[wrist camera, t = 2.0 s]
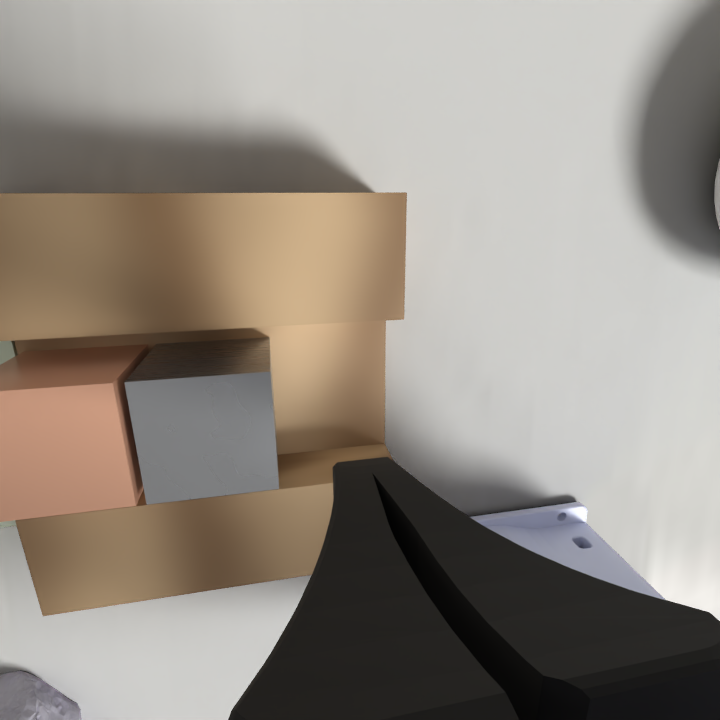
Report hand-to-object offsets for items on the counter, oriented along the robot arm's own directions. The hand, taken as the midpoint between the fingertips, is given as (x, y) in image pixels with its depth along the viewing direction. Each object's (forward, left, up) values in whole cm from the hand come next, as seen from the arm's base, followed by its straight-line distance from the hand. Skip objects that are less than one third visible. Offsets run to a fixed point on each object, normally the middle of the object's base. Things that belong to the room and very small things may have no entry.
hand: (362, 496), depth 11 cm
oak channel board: (+4, 0, -9) cm, 10 cm away
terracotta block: (+8, 0, -8) cm, 11 cm away
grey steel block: (+4, 0, -8) cm, 9 cm away
